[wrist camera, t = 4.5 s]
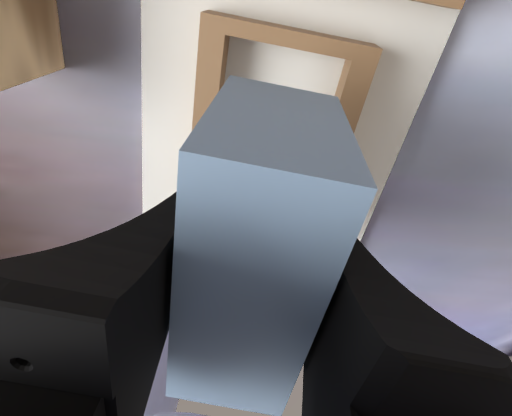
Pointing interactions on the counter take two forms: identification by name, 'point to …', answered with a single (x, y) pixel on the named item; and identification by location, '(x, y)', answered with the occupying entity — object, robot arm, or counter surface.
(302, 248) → the light blue block
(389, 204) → the counter surface
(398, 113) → the jig
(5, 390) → the robot arm
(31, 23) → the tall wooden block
